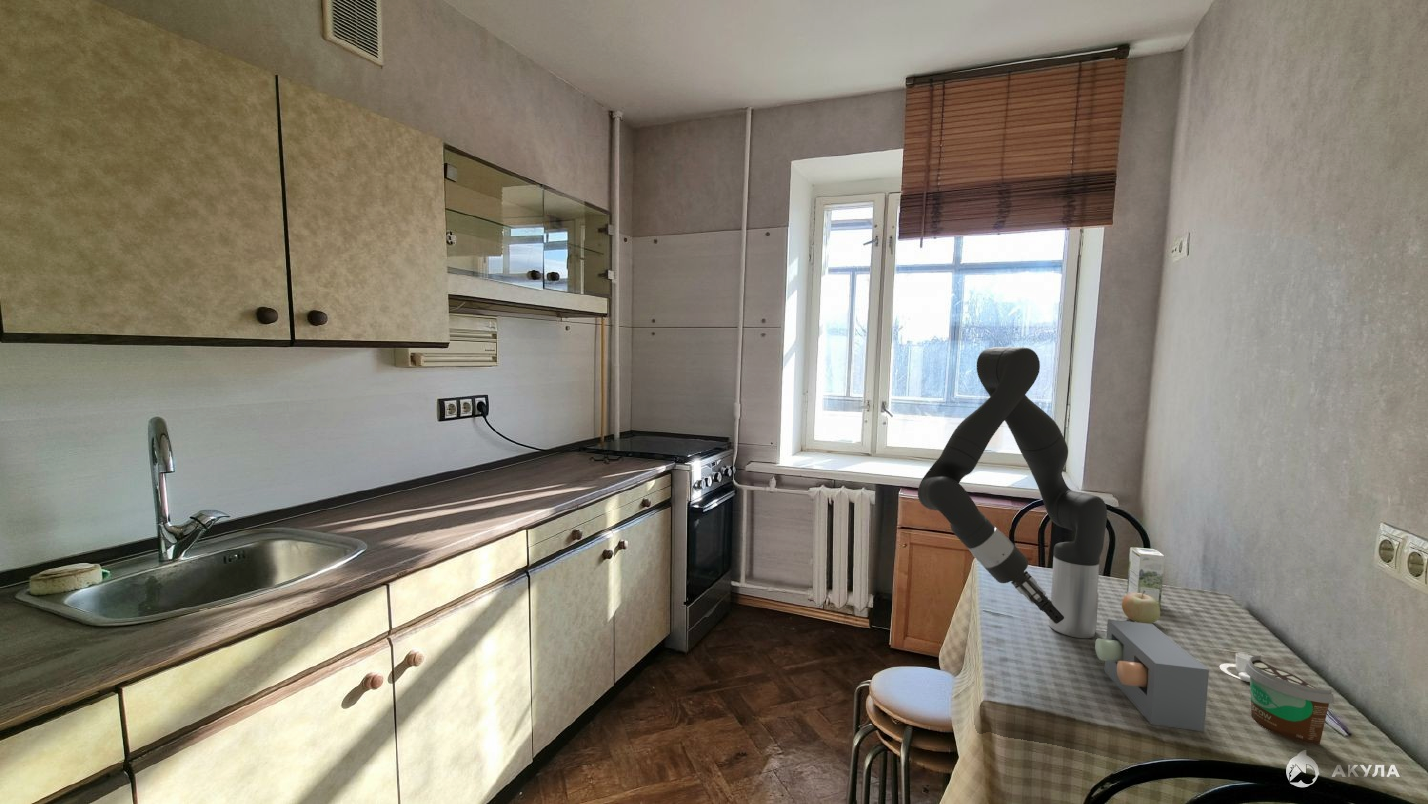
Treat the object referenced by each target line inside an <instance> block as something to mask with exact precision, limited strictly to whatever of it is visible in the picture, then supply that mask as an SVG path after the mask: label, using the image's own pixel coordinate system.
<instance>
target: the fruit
mask: <svg viewBox="0 0 1428 804" xmlns="http://www.w3.org/2000/svg"><path fill="white" fill-rule="evenodd" d="M1144 593H1145V591H1144V590H1143V594H1142V593H1130V594H1127V593H1126V595H1125V596H1123V598H1122V601H1121V607H1122V612H1123V613H1124V615H1125V616H1126V617H1127V618H1128V619H1129V620H1130V621H1131V622H1138V623H1148V624H1154V623H1157V621H1158V620H1159V619H1160V617H1161V606H1160V607H1159V604H1158V603H1157V601H1156V600H1155V599H1154V598H1152V597H1150V596H1148V595H1145V594H1144Z"/></svg>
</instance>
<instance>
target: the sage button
mask: <svg viewBox="0 0 1428 804" xmlns="http://www.w3.org/2000/svg"><path fill="white" fill-rule="evenodd" d="M1094 645H1095V646H1094V647H1095V649H1094V650H1095V653H1096V657H1097V658H1098V659H1099V660H1100V661H1104V662H1105V661H1113V662H1119V661H1123V649H1124V644H1122V643H1121V642H1120V641H1117V640H1109V639H1106V638H1099V637H1098V638H1097V639H1096V640H1095V643H1094Z"/></svg>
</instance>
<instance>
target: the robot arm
mask: <svg viewBox="0 0 1428 804" xmlns="http://www.w3.org/2000/svg"><path fill="white" fill-rule="evenodd" d="M1040 363H1041V362H1040V358H1039V356H1038V354H1037V353H1036V351H1034V350H1033V349H1032V348H1029V347H1024V346H995V347H989V348H986V349H984V350H983V351H981V352H980V353H979V355H978V357H977V360H976V373H977V376H978V379H979V381H980V383H981V385H982V387H984V390H985V391H986V393H987V394H988V395H989V397H988V399H986V401H985V402H984V403H982V405H980V406H979V407H978V408H977V409H975V410H974V411H973V412H971V414H969V415H968V416H967V417H966V418H965V419H963V420H962V421H961V422H960V423H959V424H958V425H957V427H956V428H955V429H954V431H953V432H952V434H951V436H950V437H949V439H948V441H947V443H946V445H945V446H944V447H943V450H942V452H941V454H940V456H939V457H938V458H937V460H936V461H935V462H933V464H932V465H931V467H930V468H929V470H927V472H926V473H925V475H924V476H923V477H922V479H921V481H920V483H919V485H918V488H917V499H918V501H919V503H920V504H921V505H922V506H923V507H925V508H926V509H929V510H933V511H938V512H939V513H940V514H941V515H943V516H944V518H945V519H946V520H947V521H948V522H949V523H950V529H951V531H952V532H953V534H954V535H955V536H956V538H958V540H959V541H960V542H961V543H962V544H963V545H964V546H965V547H966V549H968V550H969V552H971V554H972V556H973V557H974V559H975V560H977V562H978V563H979V564H980V565H981V566H982V567H983V568H984V569H985V570H986V571H987V572H988V573H989V574H990V576H992V577H993V578H994V580H996V582H997V583H998V584H999V583H1000V584H1009V583H1011V585H1013V587H1014V588H1015V590H1017V591H1018V592H1019V594H1021V595H1023V596H1024V597H1025V598H1026V599H1027V600H1028V601H1029V602H1030V603H1031V604H1034V605H1035V606H1037V607H1038V609H1039V610H1040V611H1041V612H1043V613H1044V614H1046V616H1047V617H1049V622H1048V623H1049V627H1050V628H1051V629H1053V630H1054V631H1055V632H1057V633H1059V634H1062V635H1065V636H1069V637H1073V638H1077V639H1091V638H1094V637H1095V636H1096V632H1097V622H1098V605H1099V592H1098V591H1099V576H1100V575H1099V573H1100V561H1101V559H1100V558H1101V555H1102V553H1103V549H1104V545H1105V535H1106V530H1107V529H1106V528H1107V520H1108V509H1107V508H1108V507H1107V504H1106V502H1105V500H1103V498H1101V497H1100V496H1097V495H1094V494H1090V493H1086V492H1085V493H1084V492H1082V491H1081V492H1080V491H1075V490H1073V489H1071V488H1069V486H1068V484H1067V483H1066V481H1065V479H1064V477H1063V470H1064V468H1065V465H1066V463H1067V460H1068V456H1069V447H1068V443H1067V442H1066V440H1065V437H1064V435H1063V433H1062V430H1061V428H1060V427H1059V426H1058V424H1057V423H1056V421H1055V420H1054V419H1053V418H1052V417H1051V416H1050V415H1049V414H1048V413H1047V412H1045V411H1044V410H1043V409H1042V408H1041V407H1040V406H1038V405H1037V404H1036V403H1034V402H1033V400H1031V399H1030V398H1029V397H1028V396H1027V395H1026V394H1027V393H1028V391H1030V390H1031V388H1032V387H1033V386H1034V384H1035V382H1036V380H1037V379H1038V375H1039V373H1040V369H1041V364H1040ZM1004 422H1005V424H1006V425H1007V427H1008V429H1009V431H1010V432H1011V434H1012V436H1013V438H1014V440H1015V443H1016V445H1017V448H1018V449H1019V451H1020V453H1021V455H1022V457H1023V459H1024V461H1025V462H1026V464H1027V466H1028V469H1030V472H1031V474H1032V477H1033V479H1034V481H1035V483H1036V487H1038V491H1039V494H1040V496H1041V499H1042V502H1043V504H1044V508H1045V511H1046V512H1047V515H1048V517H1049V519H1050V520H1051V522H1052V523H1053V524H1055V525H1056V526H1058V527H1060V528H1063V529H1066V530H1070V531H1073V532H1075V535H1074V536H1075V537H1074V540H1073V541H1064V542H1063V541H1062V542H1061V541H1060V542H1058V543H1055V545H1054V546H1053V558H1052V560H1053V561H1052V577H1051V594H1050V599H1049V597H1048V596H1047V595H1046V592H1045V591H1044V589H1042V587H1041V585H1039V584H1038V581H1037V580H1036V579H1034V577H1033V576H1032V575H1031V574H1030V573H1029V572H1028V570H1027V568H1028V567H1029V559H1028V558H1027V557H1026V556H1025V554H1024V553H1023V552H1022V551H1020V549H1019V548H1017V546H1016V545H1015V544H1014V543H1013V542H1012V541H1011V540H1010V539H1009V538H1008V537H1007V536H1006V535H1005V534H1004V533H1003V532H1002V531H1000V529H998V528H997V527H996V526H995V525H994V524H993V523H992V522H991V521H990V520H989V518H987V517H986V516H985V515H984V513H982V512H981V511H980V510H979V508H978V507H977V505H976V503H975V501H973V499H972V497H971V496H970V494H969V492H968V491H967V490H966V489H965V488H964V487H963V486H962V485H961V484H960V482H961V481H962V480H963V478H965V477H966V476H968V475H970V474H971V473H972V472H974V469H975V468H976V466H977V465H978V463H979V461H980V459H981V457H982V456H983V454H984V452H985V450H986V448H987V446H988V445H989V443H990V441H991V440H992V439H993V436H994V435H995V434H996V432H997V431H998V430H999V428H1000V427H1001V426H1002V424H1003V423H1004Z"/></svg>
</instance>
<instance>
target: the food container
mask: <svg viewBox="0 0 1428 804" xmlns="http://www.w3.org/2000/svg"><path fill="white" fill-rule="evenodd" d="M1252 656H1253V657H1251V658H1250V660H1249V661H1248V662H1247V665H1246V667H1245V671H1246V673H1247V674H1248V675H1249V676H1250V682H1249V685H1250V687H1249V688H1250V707H1251V708H1250V709H1251V711H1250V712H1251V713H1250V715H1251V718H1252V719H1253V721H1254V720H1255V721H1256V722H1255V723H1256V724H1258V725H1259V726H1260V725H1261V726H1260V727H1262V726H1263V727H1262V728H1264V729H1265V728H1266V729H1265V730H1267V729H1268V731H1269V730H1270V731H1269V732H1271V733H1273V734H1276V735H1278V736H1281V737H1284V738H1286V739H1289V740H1293V741H1295V742H1300V743H1305V744H1310V745H1320V744H1321V741H1322V737H1323V736H1322V735H1323V733H1324V732H1323V731H1324V728H1325V723H1326V719H1327V716H1328V710H1329V706H1330V704H1335V699H1334V698H1335V696H1334V694H1332V693H1333V692H1332V689H1329V688H1328V689H1326V688H1325V689H1324V688H1317V687H1315V686H1313V685H1311V684H1309V683H1308V682H1306V681H1305V680H1303V679H1302V678H1300V677H1298V676H1297V675H1295V674H1293V673H1290V672H1289V671H1285V670H1282V669H1279V668H1277V667H1275V666H1272V665H1271V664H1268V663H1266V662H1265V661H1262V660H1261V659H1262V658H1261V657H1262V656H1261V654H1259V655H1252Z"/></svg>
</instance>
